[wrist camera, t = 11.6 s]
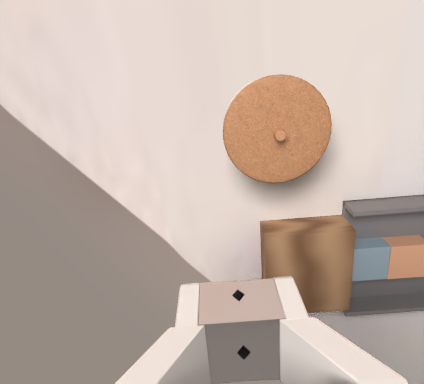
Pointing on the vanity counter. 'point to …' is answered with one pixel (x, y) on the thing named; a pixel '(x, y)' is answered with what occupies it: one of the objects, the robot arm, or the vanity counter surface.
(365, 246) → the tile
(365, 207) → the tray
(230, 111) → the lidded jar
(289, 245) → the cardboard box
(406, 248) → the tile
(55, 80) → the vanity counter surface
